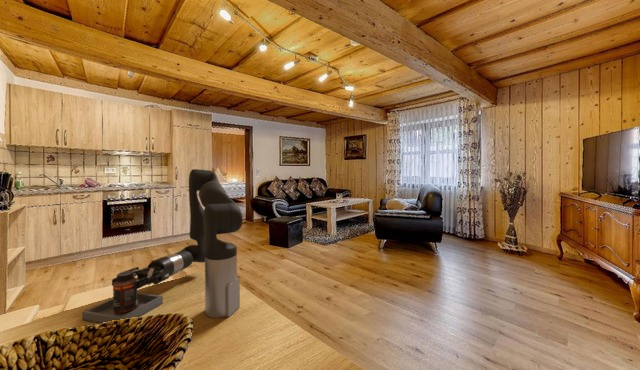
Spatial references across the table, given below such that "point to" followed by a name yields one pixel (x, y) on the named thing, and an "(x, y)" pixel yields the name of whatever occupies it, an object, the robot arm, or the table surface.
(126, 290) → the supplement bottle
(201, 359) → the table surface
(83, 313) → the tray
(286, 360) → the table surface
